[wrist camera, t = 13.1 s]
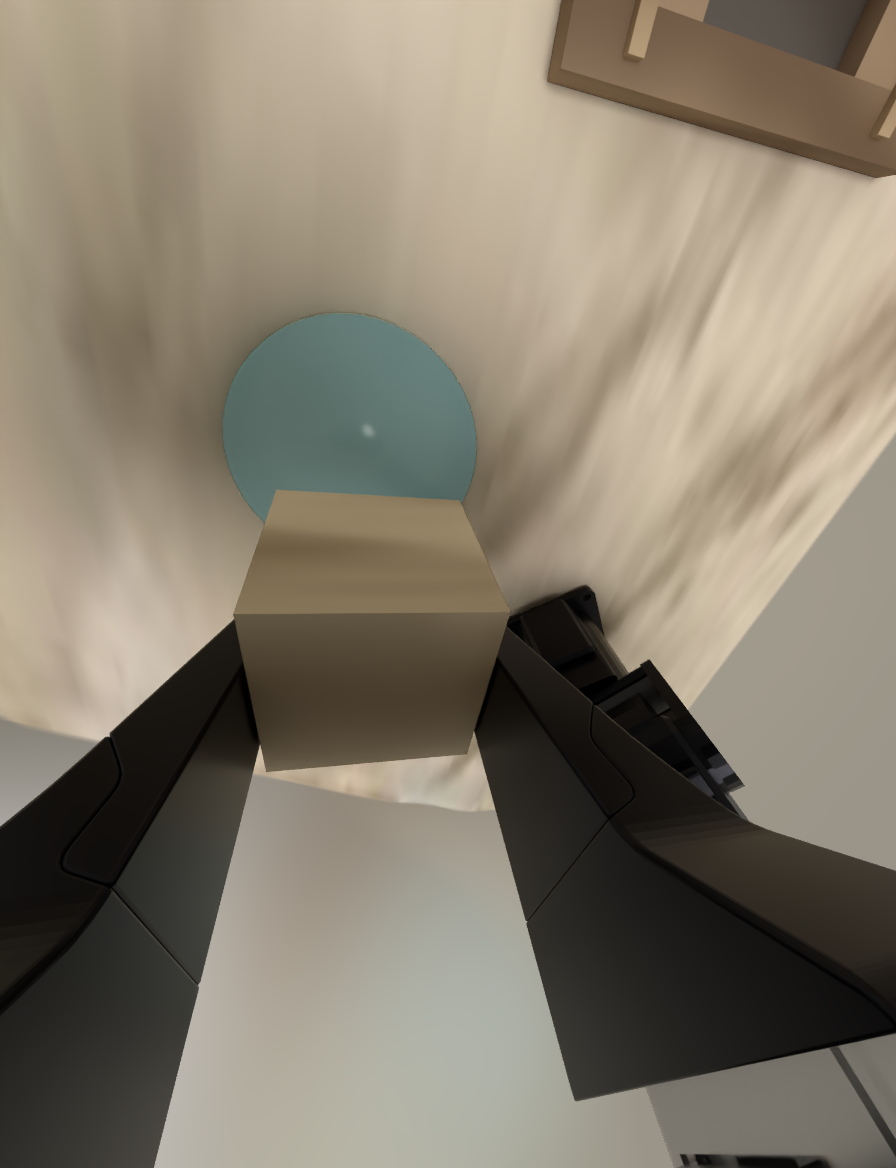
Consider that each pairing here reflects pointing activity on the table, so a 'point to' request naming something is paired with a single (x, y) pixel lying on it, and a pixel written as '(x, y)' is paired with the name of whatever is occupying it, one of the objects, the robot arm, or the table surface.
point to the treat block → (367, 629)
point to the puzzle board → (746, 69)
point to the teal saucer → (347, 415)
